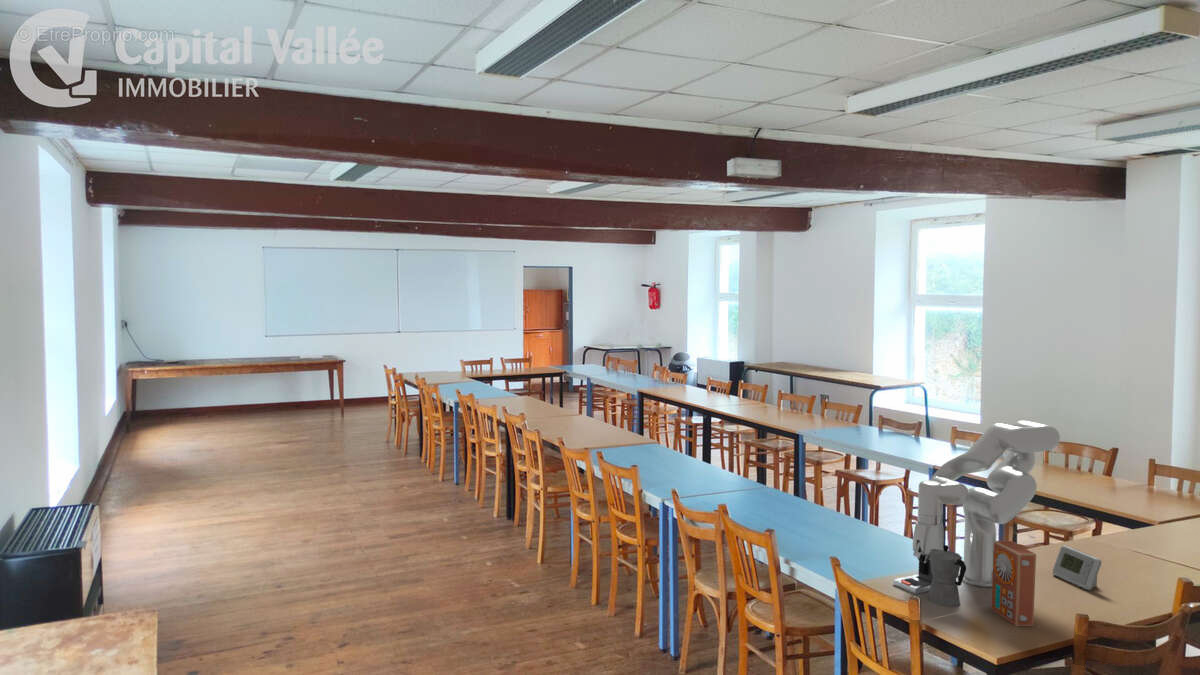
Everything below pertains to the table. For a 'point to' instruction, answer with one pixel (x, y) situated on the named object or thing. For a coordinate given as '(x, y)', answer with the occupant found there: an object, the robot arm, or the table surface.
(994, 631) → the table surface
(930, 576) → the plug
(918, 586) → the power strip
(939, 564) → the coffeepot
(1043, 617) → the table surface
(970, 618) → the table surface
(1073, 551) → the digital clock
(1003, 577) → the control panel
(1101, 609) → the table surface
